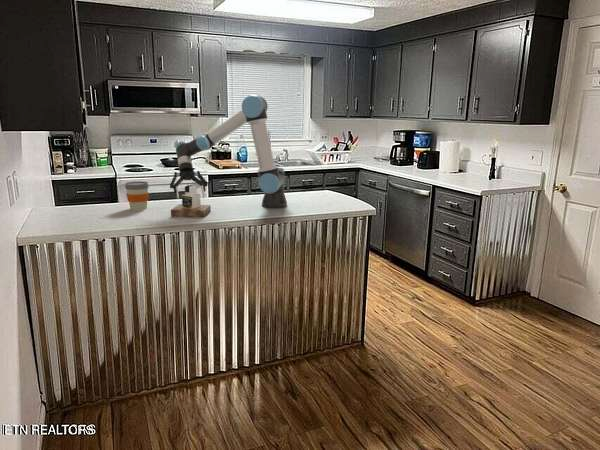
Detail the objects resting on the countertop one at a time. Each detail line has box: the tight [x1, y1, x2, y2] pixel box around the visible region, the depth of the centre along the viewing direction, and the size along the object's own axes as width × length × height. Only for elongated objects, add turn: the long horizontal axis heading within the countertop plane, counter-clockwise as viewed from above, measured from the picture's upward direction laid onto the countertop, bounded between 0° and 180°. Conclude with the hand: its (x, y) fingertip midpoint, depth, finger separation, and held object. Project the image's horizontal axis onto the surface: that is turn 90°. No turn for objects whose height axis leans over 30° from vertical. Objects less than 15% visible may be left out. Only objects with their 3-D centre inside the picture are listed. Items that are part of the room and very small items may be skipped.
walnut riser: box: [170, 204, 212, 219], centre depth 241 cm, size 18×14×4 cm
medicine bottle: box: [181, 184, 202, 209], centre depth 240 cm, size 7×7×12 cm
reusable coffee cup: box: [124, 180, 150, 211], centre depth 252 cm, size 13×13×15 cm
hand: (191, 197), depth 237 cm, fingers open, 13 cm apart
